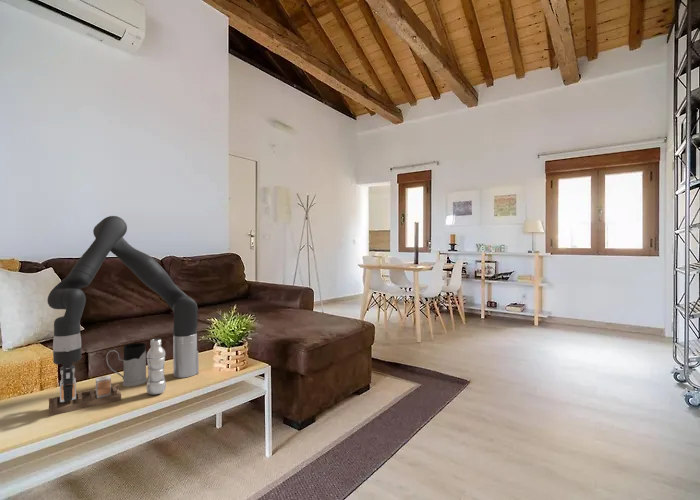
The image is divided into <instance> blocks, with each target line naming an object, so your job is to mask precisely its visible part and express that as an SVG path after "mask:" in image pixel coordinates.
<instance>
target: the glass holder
mask: <svg viewBox="0 0 700 500" xmlns="http://www.w3.org/2000/svg"><path fill="white" fill-rule="evenodd" d="M112 352H115V353H117V358H118V361H123V363H122V365H123V375H122V374H121V373H120V372H118V371H116V370H115V369H113V368H112V366H111V364H110V363H109V361H108V360H109V359H108V355H109V354H110V353H112ZM146 355H147V349H146V343H144V342H135V343H134V342H133V343H128V344H125V345H124V346H123V359H121V358H120V353H119V352H118V351H117V350H109V351H108V352H107V354H106V357H105V360H106V364H107V367H108V368H109V369H110V370H111V371H112V372H114V373H116V374H117V375H119V376H120V377H122V381H123V382H122V384H121V385H122V386H123V387H136V386H137V387H138V386H141V385H143V384H145V383H147V382H148V377H147V356H146Z"/></svg>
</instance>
